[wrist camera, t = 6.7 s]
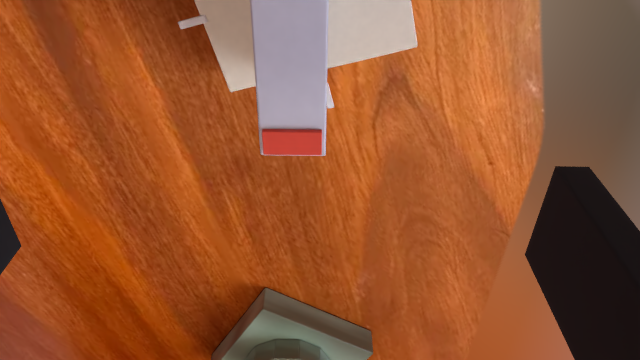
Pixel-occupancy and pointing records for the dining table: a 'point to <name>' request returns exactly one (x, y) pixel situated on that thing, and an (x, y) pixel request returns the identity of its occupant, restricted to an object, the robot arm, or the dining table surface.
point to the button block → (292, 333)
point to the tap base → (343, 34)
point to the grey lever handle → (291, 75)
